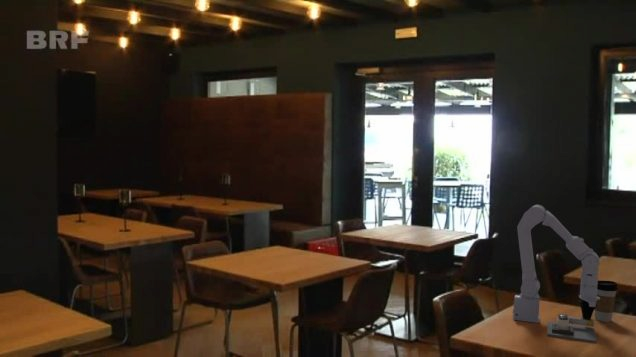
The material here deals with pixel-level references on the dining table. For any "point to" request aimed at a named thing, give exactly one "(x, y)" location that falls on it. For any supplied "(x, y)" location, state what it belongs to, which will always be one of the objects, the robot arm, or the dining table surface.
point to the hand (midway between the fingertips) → (586, 320)
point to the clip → (579, 320)
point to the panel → (572, 332)
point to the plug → (562, 323)
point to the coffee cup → (605, 300)
